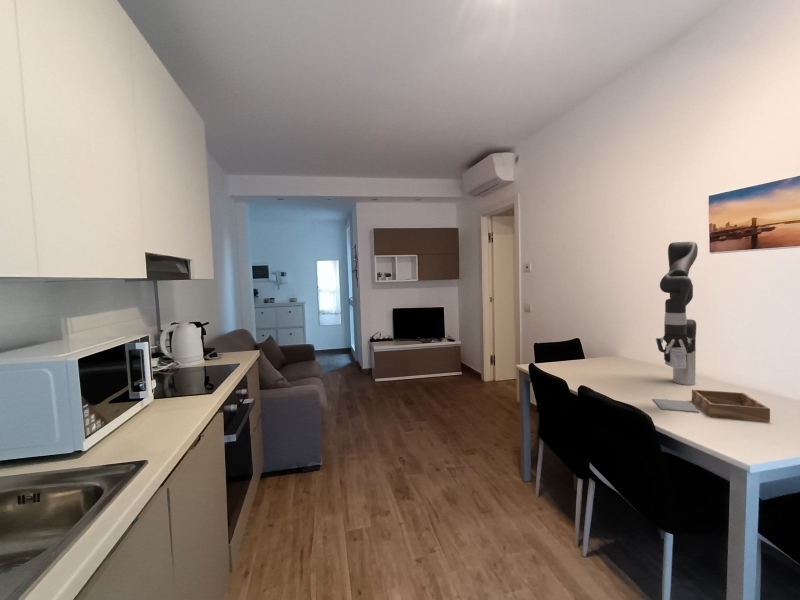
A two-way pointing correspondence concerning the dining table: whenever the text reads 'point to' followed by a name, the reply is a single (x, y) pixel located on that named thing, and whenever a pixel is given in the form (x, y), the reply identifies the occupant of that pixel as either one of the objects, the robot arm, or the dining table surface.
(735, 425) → the dining table surface
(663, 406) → the slate mat
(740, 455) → the dining table surface
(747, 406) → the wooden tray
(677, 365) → the medicine box
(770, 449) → the dining table surface
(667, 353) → the robot arm
